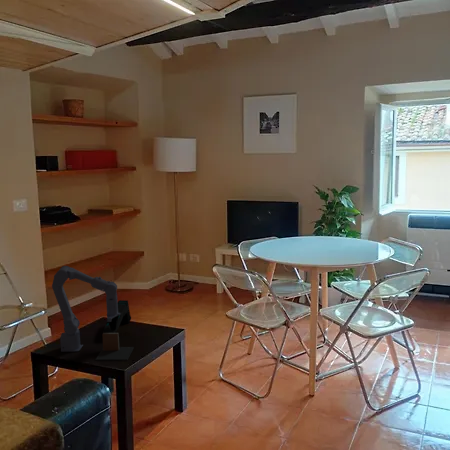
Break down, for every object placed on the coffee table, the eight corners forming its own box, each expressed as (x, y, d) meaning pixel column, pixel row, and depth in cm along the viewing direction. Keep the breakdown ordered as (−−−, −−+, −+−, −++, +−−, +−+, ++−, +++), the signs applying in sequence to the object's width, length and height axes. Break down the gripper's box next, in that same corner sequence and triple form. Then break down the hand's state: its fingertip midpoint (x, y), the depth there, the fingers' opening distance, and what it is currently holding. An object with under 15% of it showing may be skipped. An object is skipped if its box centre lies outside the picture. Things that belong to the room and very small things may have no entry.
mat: (95, 360, 238) (95, 359, 238) (103, 348, 253) (103, 347, 253) (127, 360, 238) (127, 359, 238) (133, 348, 253) (133, 347, 253)
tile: (103, 350, 249) (102, 334, 247) (104, 349, 250) (103, 332, 249) (118, 350, 249) (117, 333, 247) (119, 349, 250) (118, 332, 249)
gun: (132, 317, 295) (128, 297, 288) (117, 350, 269) (113, 329, 262) (122, 317, 295) (118, 297, 289) (106, 350, 269) (101, 329, 263)
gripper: (116, 310, 245) (117, 335, 247) (122, 301, 259) (124, 325, 261) (102, 310, 245) (104, 335, 247) (110, 301, 259) (111, 325, 261)
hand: (113, 330), depth 254 cm, fingers closed
